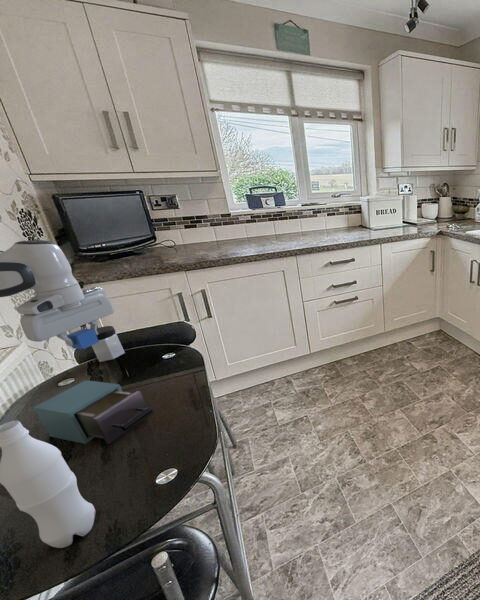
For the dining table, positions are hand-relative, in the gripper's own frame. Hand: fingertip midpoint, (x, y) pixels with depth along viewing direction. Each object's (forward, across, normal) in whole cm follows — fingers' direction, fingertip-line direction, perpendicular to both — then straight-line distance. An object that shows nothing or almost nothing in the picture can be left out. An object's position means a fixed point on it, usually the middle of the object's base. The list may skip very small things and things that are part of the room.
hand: (83, 340), depth 97 cm
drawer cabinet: (+19, +12, +11) cm, 25 cm away
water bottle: (+19, +35, +43) cm, 59 cm away
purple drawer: (+18, +12, +22) cm, 31 cm away
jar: (+19, -18, -26) cm, 37 cm away
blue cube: (+2, 0, 0) cm, 2 cm away
